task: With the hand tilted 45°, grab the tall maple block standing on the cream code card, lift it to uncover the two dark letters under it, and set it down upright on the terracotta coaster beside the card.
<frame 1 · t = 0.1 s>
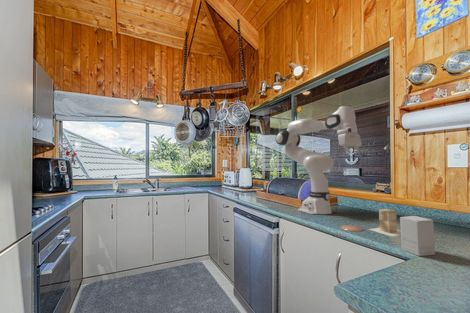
hand: (352, 153, 139), 39 cm above the worktop, tool pointing down, fingers open, 8 cm apart
coaster: (352, 229, 117), on the worktop
code card: (388, 231, 111), on the worktop
supplement box: (417, 252, 87), on the worktop
maple block: (388, 231, 111), resting on code card
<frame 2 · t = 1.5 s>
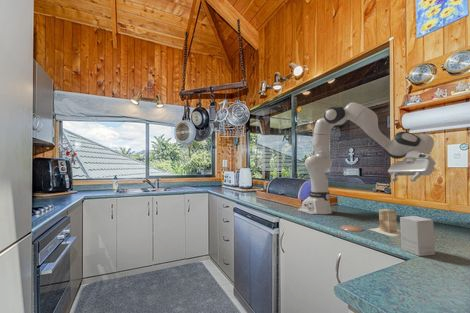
hand: (402, 180, 116), 24 cm above the worktop, tool tilted 45°, fingers open, 8 cm apart
nothing on the worktop moved.
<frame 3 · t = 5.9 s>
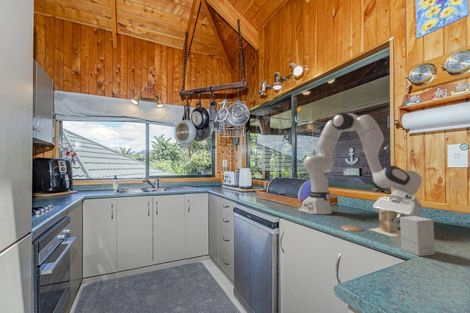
hand: (386, 220, 111), 5 cm above the worktop, tool tilted 45°, fingers closed on maple block, 5 cm apart
maple block: (388, 231, 111), resting on code card, touching gripper
everything else where it was.
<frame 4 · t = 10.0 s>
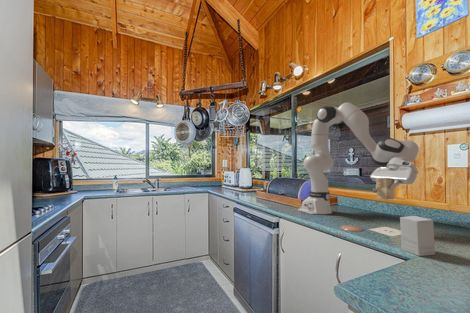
hand: (384, 187, 112), 21 cm above the worktop, tool tilted 45°, fingers closed on maple block, 5 cm apart
maple block: (385, 198, 112), point 16 cm above the worktop, touching gripper
everything else where it was.
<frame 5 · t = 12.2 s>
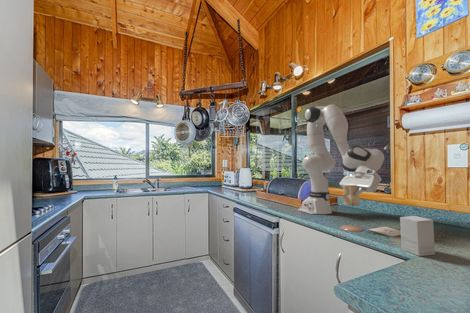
hand: (350, 194, 117), 17 cm above the worktop, tool tilted 45°, fingers closed on maple block, 5 cm apart
maple block: (351, 204, 117), point 12 cm above the worktop, touching gripper
everything else where it was.
when the fingers open (7 cm above the worktop, at t = 14.3 s): maple block drops 2 cm, resting on coaster.
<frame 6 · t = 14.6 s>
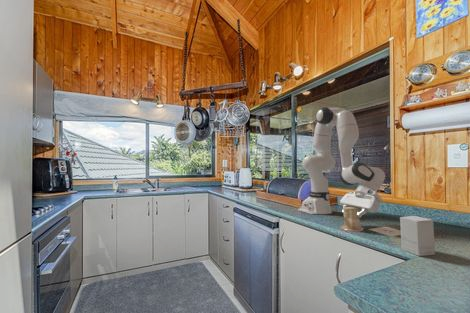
hand: (350, 214, 117), 7 cm above the worktop, tool tilted 45°, fingers open, 8 cm apart
maple block: (351, 227, 117), point 1 cm above the worktop, touching coaster
everything else where it was.
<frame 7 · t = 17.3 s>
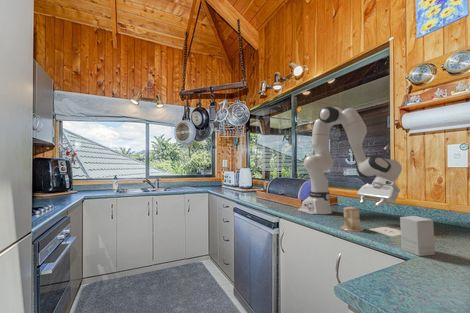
hand: (369, 204, 121), 11 cm above the worktop, tool tilted 45°, fingers open, 8 cm apart
nothing on the worktop moved.
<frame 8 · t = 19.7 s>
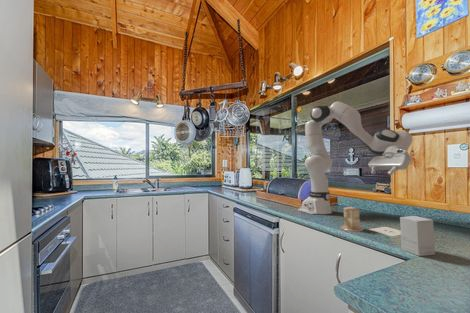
hand: (380, 173, 123), 27 cm above the worktop, tool tilted 45°, fingers open, 8 cm apart
nothing on the worktop moved.
at the end: maple block 0.0 cm from the coaster (horizontally); maple block tilted 0°; the gripper is holding nothing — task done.
